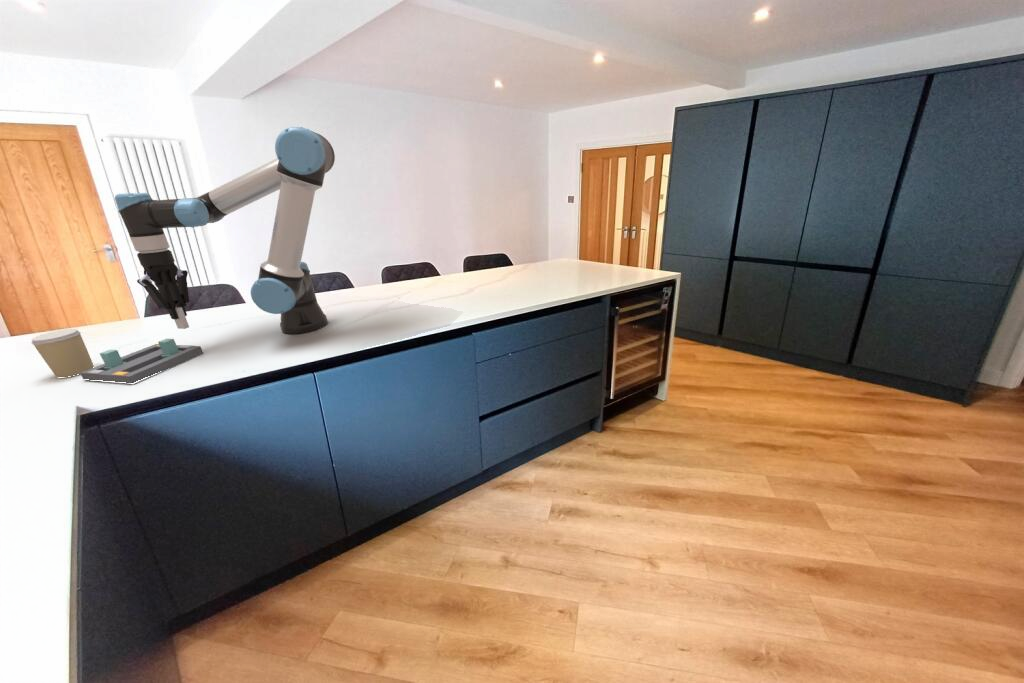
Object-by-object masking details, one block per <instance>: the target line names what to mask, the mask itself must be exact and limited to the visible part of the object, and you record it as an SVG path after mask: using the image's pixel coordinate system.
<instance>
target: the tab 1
mask: <svg viewBox="0 0 1024 683" xmlns="http://www.w3.org/2000/svg"><path fill="white" fill-rule="evenodd" d="M99 355H100V357H101V359H102V361H103V364H105V365H106V367H104V368H103V369H104V371H107V370H109V369H112V368H114V367H117V366H119V365H122V364H124V363H127V362H123V361H122V359H121V357H122V356H121V355H120V353H119V351H118V350H117V349H108V350H105V351H103V352H100V353H99Z"/></svg>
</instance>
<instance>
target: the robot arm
mask: <svg viewBox="0 0 1024 683" xmlns="http://www.w3.org/2000/svg"><path fill="white" fill-rule="evenodd" d="M274 142H275V143H274V151H275V155H276V158H275V159H272V160H271V161H269V162H267V163H264V164H262V165H261V166H259V167H257V168H255V169H252V170H251V171H249V172H246V173H244V174H242V175H241V176H238V177H236V178H234V179H232V180H229V181H228V182H226V183H224V184H221V185H219V187H216V188H214V189H212V190H210V191H208V192H206V193H204V194H202V195H199V196H198V197H189V198H187V197H186V198H172V199H171V198H169V199H153V198H152V196H151V194H149V193H148V192H134V193H133V192H132V193H131V192H130V193H118V194H116V195H115V196H114V201H115V204H116V206H117V210H118V211H117V212H118V214H119V215H120V217H121V220H122V221H123V223H124V225H125V228H126V231H127V233H128V235H129V239H130V242H131V244H132V245H133V248H134V250H135V251H136V252H138V253H137V254H136V257H137V259H138V261H139V263H140V265H141V267H142V268H143V277H142V278H140V279H139V278H138V279H137V280H136V282H137V283H138V284H139V285H140V286H142V287H143V288H144V290H145V291H146V292H147V294H148V295H149V296H150V298H151V299H152V300H153V302H154V303H155V304H156V306H157V308H158V309H161V310H162V309H163V310H167V311H168V314H169V316H170V318H171V320H174V322H175V325H176V327H177V329H179V330H180V329H181V330H186V329H188V328H190V325H189V323H188V320H187V316H188V313H187V311H186V308H185V307H186V306H187V304H188V303H190V296H189V295H190V294H189V287H188V281H187V280H188V279H187V277H188V274H189V273H188V272H189V271H188V270H182V269H179V268H178V266H177V265H176V264H175V261H176V260H175V258H174V255H173V253H172V250H170V249H169V248H170V243H169V241H168V240H167V236H166V234H165V232H164V229H168V228H169V229H172V228H173V229H174V228H175V229H177V228H198V227H204V226H207V224H214V223H217V222H219V221H221V220H223V219H224V218H225V217H226V216H228V215H230V214H231V213H234V212H236V211H237V210H240V209H242V208H244V207H245V206H248V205H250V204H252V203H254V202H256V201H258V200H260V199H262V198H264V197H266V196H268V195H270V194H273V193H275V192H277V191H279V194H278V200H277V205H276V211H275V217H274V222H273V228H272V233H271V239H270V245H269V250H268V256H267V260H265V261H264V262H262V263H260V266H259V272H258V278H257V280H255V281H254V283H253V284H252V286H251V288H250V297H251V300H252V301H253V303H254V304H255V305H256V306H257V308H259V309H260V310H261V311H263V312H265V313H268V314H273V315H280V323H279V326H280V330H281V332H282V333H283V334H288V335H289V334H290V335H295V334H304V333H309V332H312V331H313V332H314V331H316V330H319V329H321V328H323V327H325V326H326V325H327V324H328V317H327V315H326V314H325V313H324V312H323V310H322V308H321V306H320V304H319V303H318V300H317V296H316V291H315V289H314V284H313V280H312V276H311V271H310V269H309V265H308V264H307V263H306V262H305V261H302V257H303V254H304V249H305V248H304V247H305V243H306V238H307V233H308V230H309V229H308V228H309V224H310V217H311V213H312V209H313V204H314V199H315V192H316V191H318V190H320V189H321V188H323V184H324V179H325V175H326V173H329V172H330V170H332V168H333V166H335V160H336V159H335V158H336V155H335V150H334V148H333V145H332V144H331V143H330V141H329V140H328V139H326V137H324V136H323V135H321V134H320V133H318V132H316V131H313V130H310V129H309V128H305V127H302V126H290V127H287V128H285V129H283V130H282V131H281V132H280V133H279V134H278V135H277V137H276V139H275V141H274Z"/></svg>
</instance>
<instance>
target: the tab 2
mask: <svg viewBox="0 0 1024 683" xmlns="http://www.w3.org/2000/svg"><path fill="white" fill-rule="evenodd" d="M157 344H159V345H160V348H161V350H162V352H163V354H164V355H162V356H161V357H162V359H164V358H166V357H169V356H171V355H173V354H176V353H178V352H181V351H179V350H178V348H177V345H178V344H177V343H176V341H175V339H174V338H165V339H163V340H160V341H158V342H157Z"/></svg>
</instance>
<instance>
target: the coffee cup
mask: <svg viewBox="0 0 1024 683" xmlns="http://www.w3.org/2000/svg"><path fill="white" fill-rule="evenodd" d="M31 344H32V345H33V347H34V348H35V349H36V350H37V352H38V354H39V355H40V356H41V358H42V359H43V360H44V362H45V363H46V364H47V366H48V368H49V369H50V370H51V372H52V373H53V375H54V376H55V377H56V378H57V377H68V376H73V375H77V374H80V373H81V372H84V371H86V370H89V369H91V368H93V367H95V365H94V363H93V361H92V358H91V356H90V353H89V351H88V348H87V347H86V344H85V342H84V338H83V336H82V333H81V331H80V330H78V329H77V328H67V329H60V330H53V331H50V332H46V333H42V334H40V335H37V336H35V337H32V338H31Z"/></svg>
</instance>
